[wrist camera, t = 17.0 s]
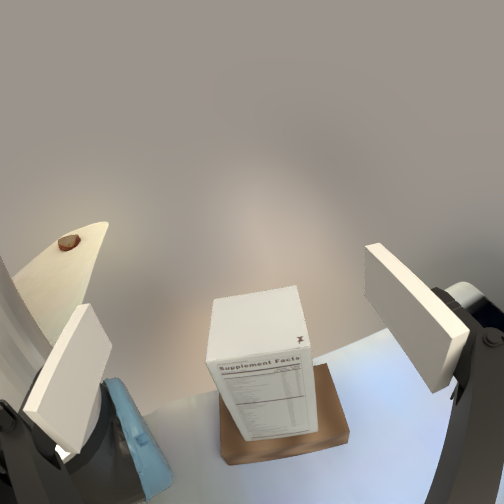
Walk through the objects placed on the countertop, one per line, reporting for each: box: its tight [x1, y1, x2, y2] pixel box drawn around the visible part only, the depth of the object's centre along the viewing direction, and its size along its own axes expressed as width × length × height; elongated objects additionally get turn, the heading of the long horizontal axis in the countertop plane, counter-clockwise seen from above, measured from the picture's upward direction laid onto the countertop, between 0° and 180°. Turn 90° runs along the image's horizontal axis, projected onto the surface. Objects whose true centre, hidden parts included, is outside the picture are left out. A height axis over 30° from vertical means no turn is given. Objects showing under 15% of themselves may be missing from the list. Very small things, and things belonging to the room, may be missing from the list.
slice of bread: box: [58, 235, 81, 251], centre depth 123 cm, size 18×18×4 cm
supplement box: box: [205, 285, 318, 441], centre depth 32 cm, size 10×9×17 cm
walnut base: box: [219, 363, 350, 465], centre depth 37 cm, size 16×12×4 cm
